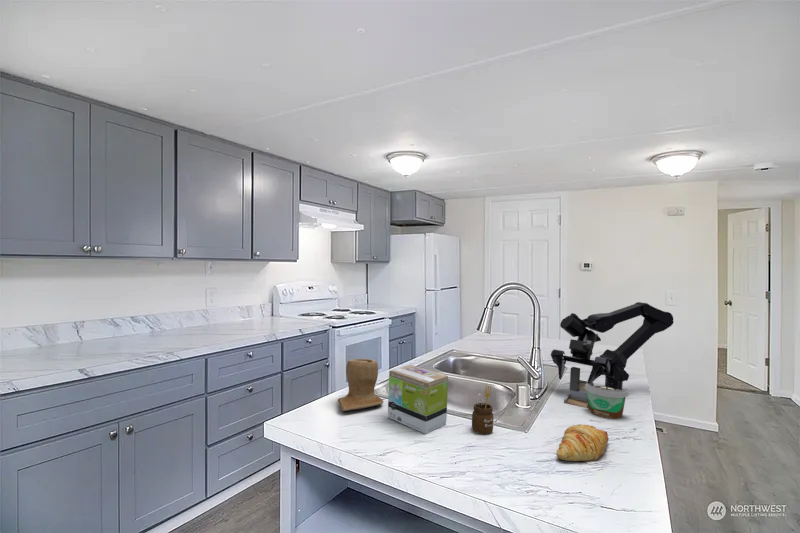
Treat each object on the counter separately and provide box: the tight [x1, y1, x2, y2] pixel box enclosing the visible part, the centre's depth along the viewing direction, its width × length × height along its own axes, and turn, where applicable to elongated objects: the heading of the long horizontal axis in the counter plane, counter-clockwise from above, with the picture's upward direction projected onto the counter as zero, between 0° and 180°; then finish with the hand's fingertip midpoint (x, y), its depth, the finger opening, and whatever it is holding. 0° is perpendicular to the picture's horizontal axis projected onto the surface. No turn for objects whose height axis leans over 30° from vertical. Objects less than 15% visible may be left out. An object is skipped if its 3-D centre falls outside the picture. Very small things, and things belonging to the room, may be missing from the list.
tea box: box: [387, 364, 449, 435], centre depth 119 cm, size 15×10×15 cm, turn 47°
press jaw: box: [569, 366, 588, 402], centre depth 138 cm, size 3×6×10 cm, turn 58°
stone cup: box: [337, 358, 384, 412], centre depth 130 cm, size 15×12×15 cm
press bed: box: [563, 379, 595, 409], centre depth 140 cm, size 16×8×6 cm, turn 148°
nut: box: [579, 383, 587, 391], centre depth 142 cm, size 4×4×4 cm
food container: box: [585, 383, 629, 420], centre depth 125 cm, size 12×6×10 cm, turn 62°
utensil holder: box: [471, 384, 494, 435], centre depth 114 cm, size 6×6×12 cm
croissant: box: [556, 424, 609, 462], centre depth 104 cm, size 21×10×8 cm, turn 126°
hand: (573, 381), depth 138 cm, fingers open, 9 cm apart
